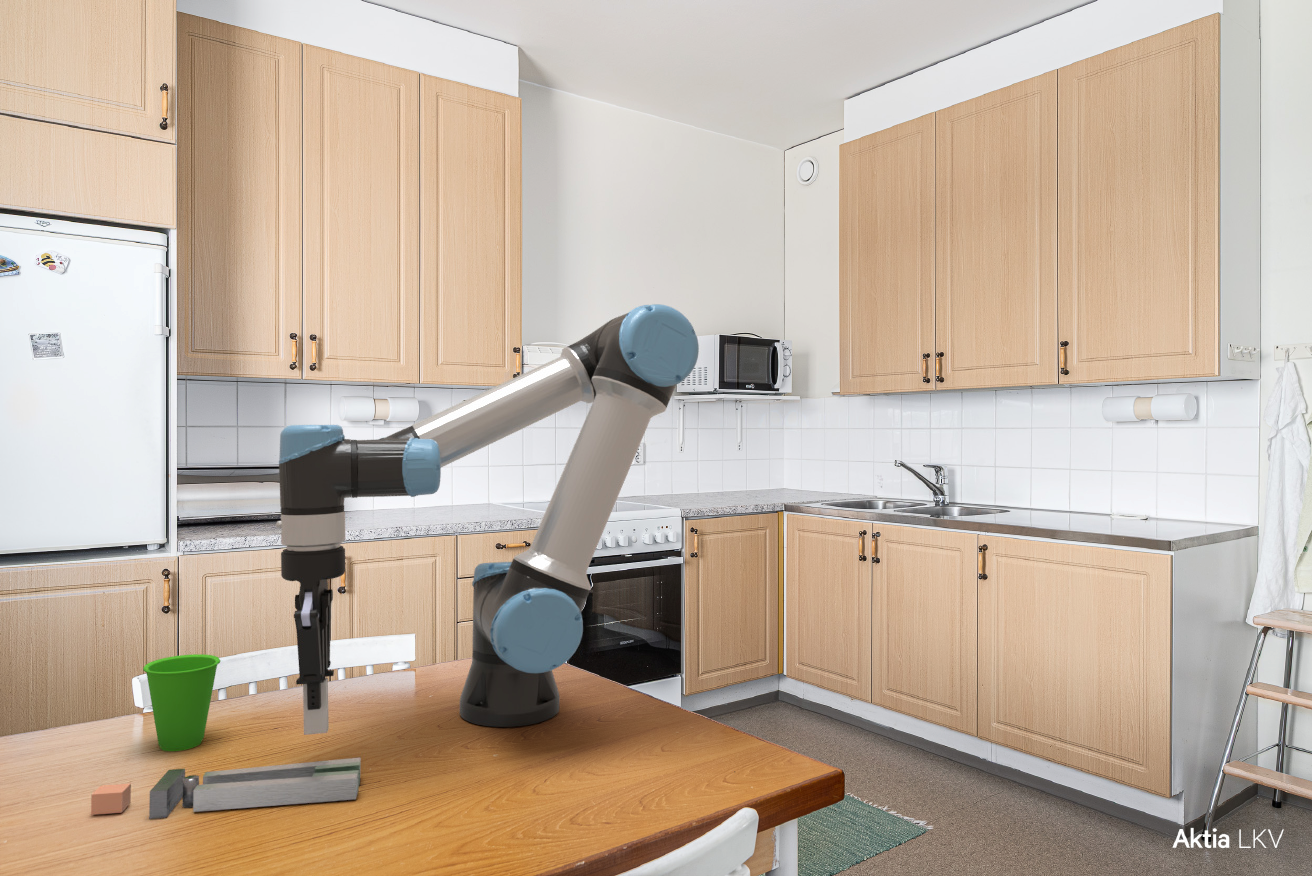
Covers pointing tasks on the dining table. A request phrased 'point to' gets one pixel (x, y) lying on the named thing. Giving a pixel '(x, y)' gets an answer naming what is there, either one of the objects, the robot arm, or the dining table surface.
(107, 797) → the tab
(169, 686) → the cup
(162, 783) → the tongs base
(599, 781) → the dining table surface
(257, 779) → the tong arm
